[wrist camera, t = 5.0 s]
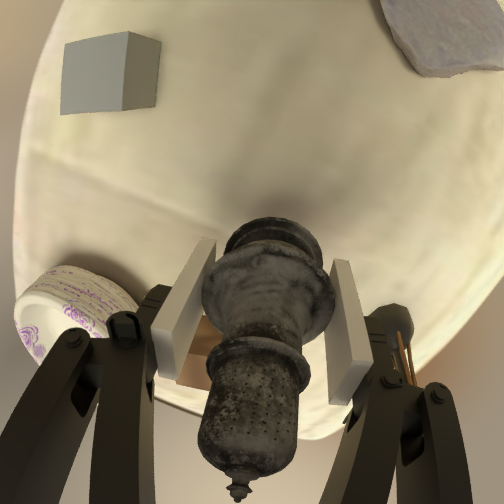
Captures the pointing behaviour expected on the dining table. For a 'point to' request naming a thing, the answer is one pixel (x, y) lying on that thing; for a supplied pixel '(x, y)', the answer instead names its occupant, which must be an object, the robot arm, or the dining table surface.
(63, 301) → the paper bowls
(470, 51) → the stone block
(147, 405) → the robot arm
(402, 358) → the wooden tabletop sculpture
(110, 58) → the slate cube
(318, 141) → the dining table surface
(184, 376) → the walnut cube
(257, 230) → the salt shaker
